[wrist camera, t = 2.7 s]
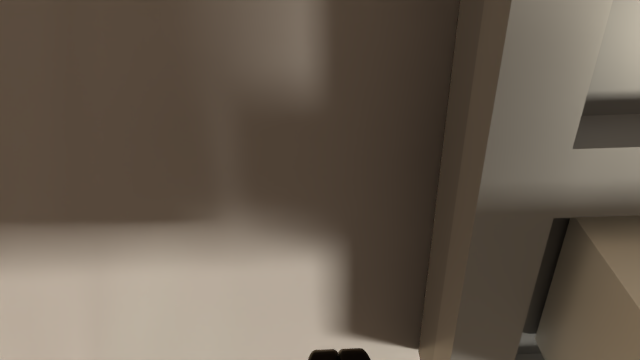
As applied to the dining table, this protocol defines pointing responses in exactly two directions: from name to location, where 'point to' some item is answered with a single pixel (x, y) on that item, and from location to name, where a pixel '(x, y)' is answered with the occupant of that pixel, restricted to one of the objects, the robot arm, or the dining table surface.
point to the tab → (594, 293)
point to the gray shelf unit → (527, 163)
